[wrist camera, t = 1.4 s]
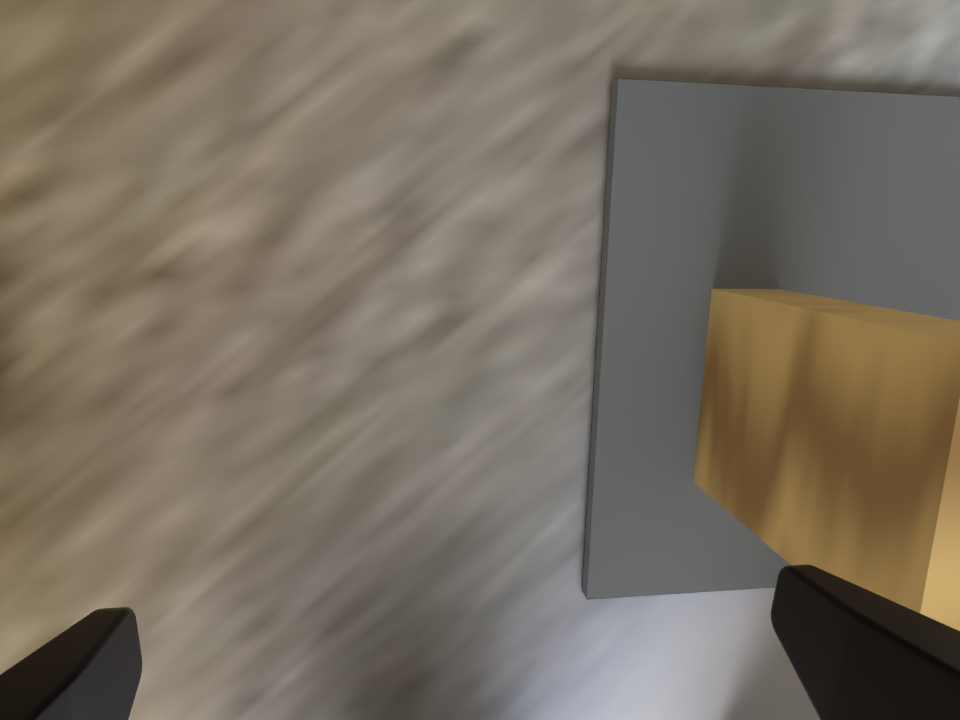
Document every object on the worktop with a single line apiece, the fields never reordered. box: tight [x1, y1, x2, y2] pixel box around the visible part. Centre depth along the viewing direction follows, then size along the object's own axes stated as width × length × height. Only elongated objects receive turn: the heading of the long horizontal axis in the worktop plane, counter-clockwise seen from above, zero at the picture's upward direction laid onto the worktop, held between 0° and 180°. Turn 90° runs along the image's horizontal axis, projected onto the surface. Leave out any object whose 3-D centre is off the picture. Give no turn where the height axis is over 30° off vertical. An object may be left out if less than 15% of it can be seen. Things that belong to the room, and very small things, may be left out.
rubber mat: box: [582, 79, 960, 599], centre depth 23 cm, size 18×18×1 cm
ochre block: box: [693, 289, 960, 631], centre depth 18 cm, size 7×2×10 cm, turn 178°
